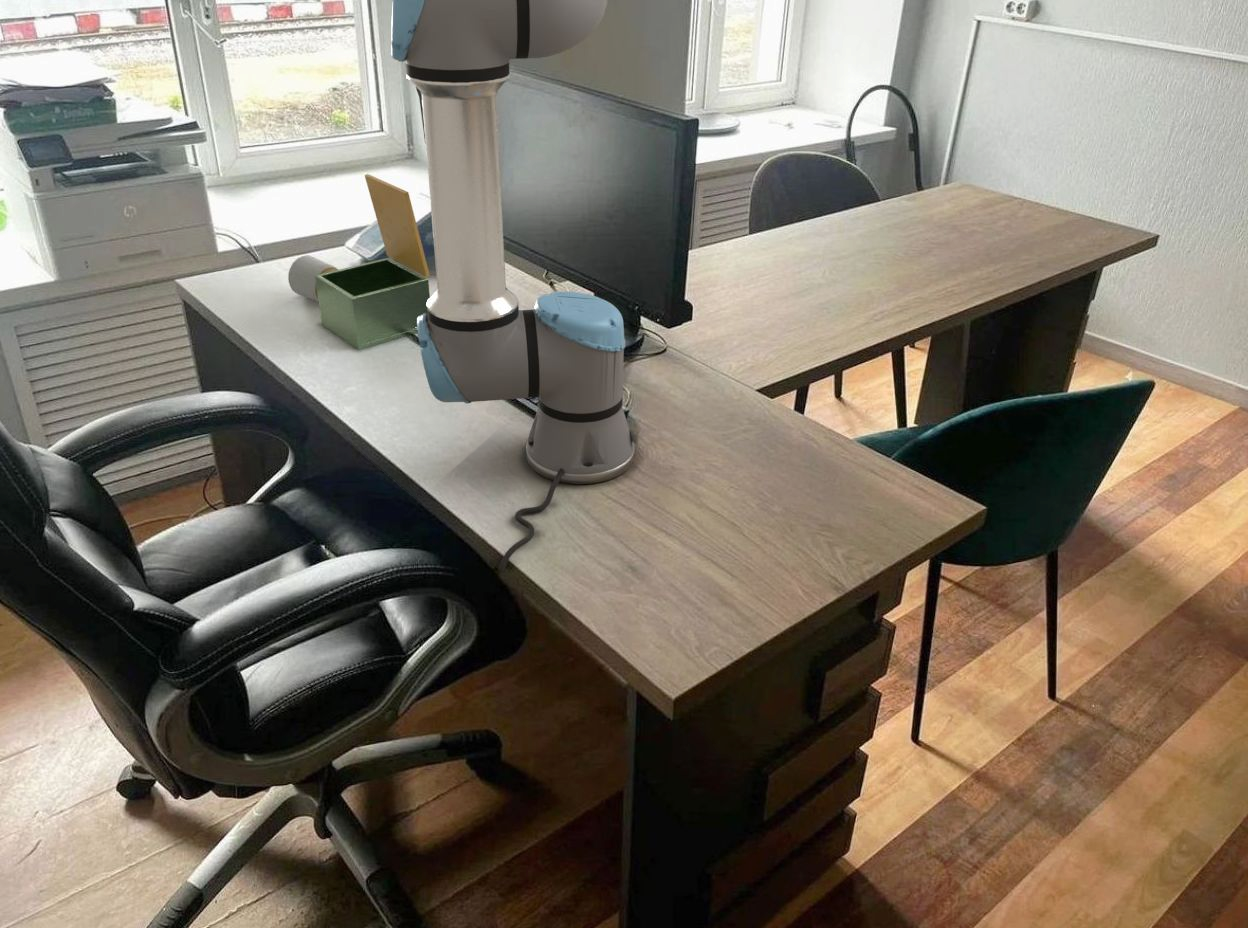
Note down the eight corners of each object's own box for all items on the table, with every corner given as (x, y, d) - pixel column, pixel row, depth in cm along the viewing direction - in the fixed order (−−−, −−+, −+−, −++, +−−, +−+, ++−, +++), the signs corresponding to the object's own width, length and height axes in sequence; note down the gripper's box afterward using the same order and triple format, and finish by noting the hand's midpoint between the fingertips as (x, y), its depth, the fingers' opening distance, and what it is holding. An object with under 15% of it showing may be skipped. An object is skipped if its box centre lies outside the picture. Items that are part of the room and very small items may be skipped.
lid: (404, 193, 164) (408, 191, 165) (364, 175, 173) (367, 173, 173) (426, 277, 174) (429, 276, 174) (387, 256, 182) (390, 254, 183)
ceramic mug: (319, 310, 185) (314, 270, 181) (290, 299, 189) (284, 260, 185) (363, 294, 192) (359, 255, 188) (334, 284, 196) (329, 246, 192)
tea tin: (358, 349, 171) (352, 298, 166) (321, 324, 179) (314, 275, 174) (432, 328, 179) (428, 279, 174) (394, 305, 188) (388, 257, 183)
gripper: (492, 39, 153) (487, 197, 162) (440, 37, 161) (438, 188, 170) (452, 35, 148) (450, 198, 156) (401, 33, 156) (401, 188, 164)
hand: (444, 193), depth 163 cm, fingers closed
